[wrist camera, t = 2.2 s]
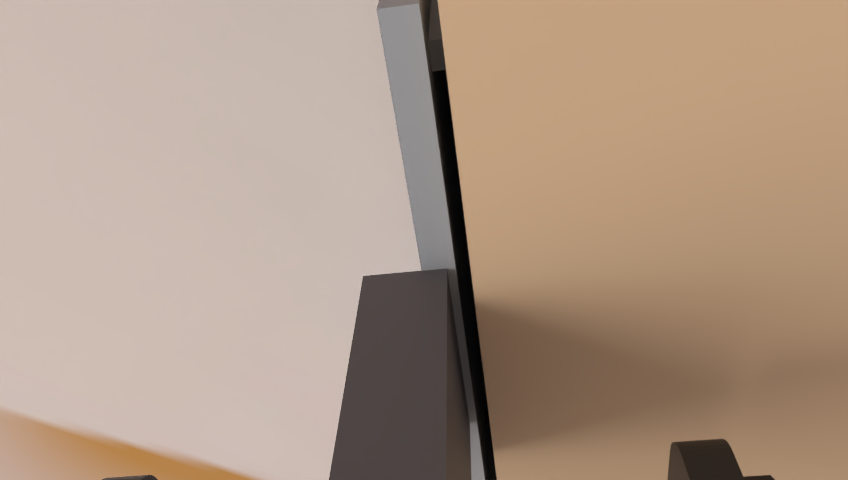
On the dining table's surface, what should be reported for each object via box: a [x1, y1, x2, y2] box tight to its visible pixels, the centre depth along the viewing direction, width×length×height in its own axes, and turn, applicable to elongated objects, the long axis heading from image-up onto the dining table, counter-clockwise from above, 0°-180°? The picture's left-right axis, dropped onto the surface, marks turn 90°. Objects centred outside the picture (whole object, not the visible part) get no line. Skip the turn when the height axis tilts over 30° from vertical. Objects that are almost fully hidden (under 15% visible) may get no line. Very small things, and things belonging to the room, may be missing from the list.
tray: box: [329, 0, 497, 480], centre depth 13 cm, size 14×13×11 cm
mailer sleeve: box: [438, 0, 848, 480], centre depth 15 cm, size 13×14×7 cm
